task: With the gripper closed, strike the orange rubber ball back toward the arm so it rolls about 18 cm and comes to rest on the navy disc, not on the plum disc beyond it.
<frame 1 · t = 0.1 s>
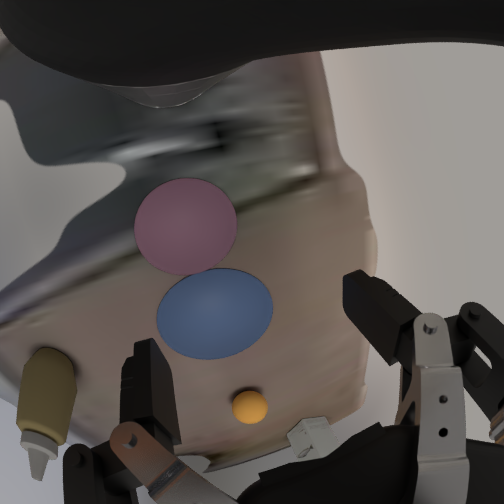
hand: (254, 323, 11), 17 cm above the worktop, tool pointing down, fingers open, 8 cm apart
supplement box: (304, 424, 56), on the worktop
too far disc: (185, 229, 26), on the worktop
ball: (249, 407, 39), on the worktop
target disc: (216, 319, 33), on the worktop
squeeze bottle: (54, 360, 29), on the worktop
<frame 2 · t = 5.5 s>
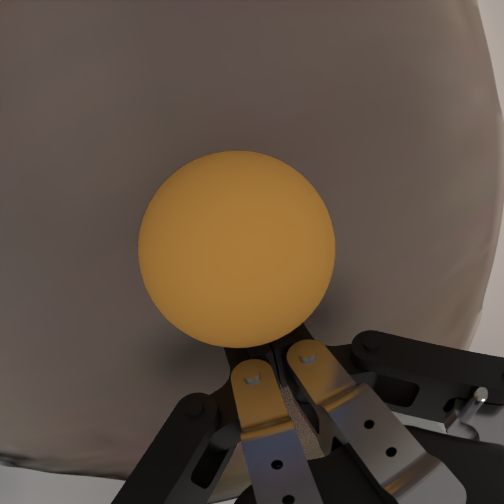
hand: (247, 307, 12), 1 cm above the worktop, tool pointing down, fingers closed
supplement box: (372, 413, 24), on the worktop
ball: (236, 249, 8), on the worktop, touching gripper
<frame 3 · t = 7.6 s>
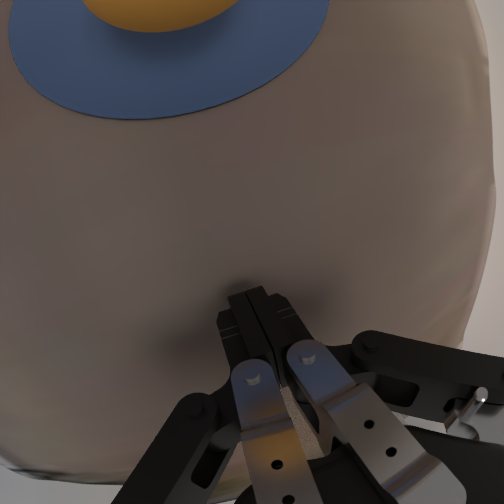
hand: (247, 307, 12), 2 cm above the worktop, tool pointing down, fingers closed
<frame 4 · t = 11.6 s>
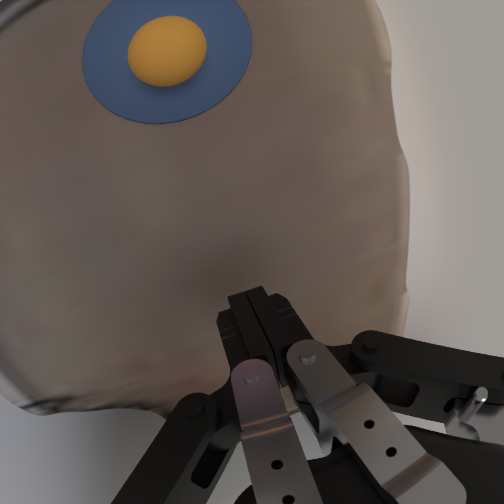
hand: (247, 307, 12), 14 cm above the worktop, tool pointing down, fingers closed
ball: (166, 50, 15), resting on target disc
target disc: (166, 43, 17), on the worktop
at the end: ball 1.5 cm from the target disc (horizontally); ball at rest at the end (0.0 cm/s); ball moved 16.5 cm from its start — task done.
